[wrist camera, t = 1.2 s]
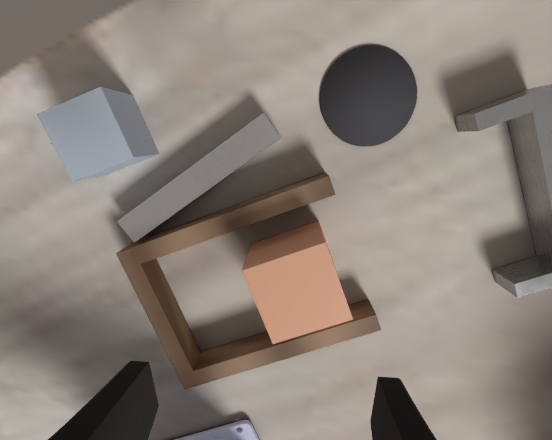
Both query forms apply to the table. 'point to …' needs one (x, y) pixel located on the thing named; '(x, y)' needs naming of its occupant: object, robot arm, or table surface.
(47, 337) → the table surface
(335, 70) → the hole disc
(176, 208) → the steel bar
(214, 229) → the bay
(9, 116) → the table surface
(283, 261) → the cube
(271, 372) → the table surface
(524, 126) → the rail
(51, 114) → the slate block
